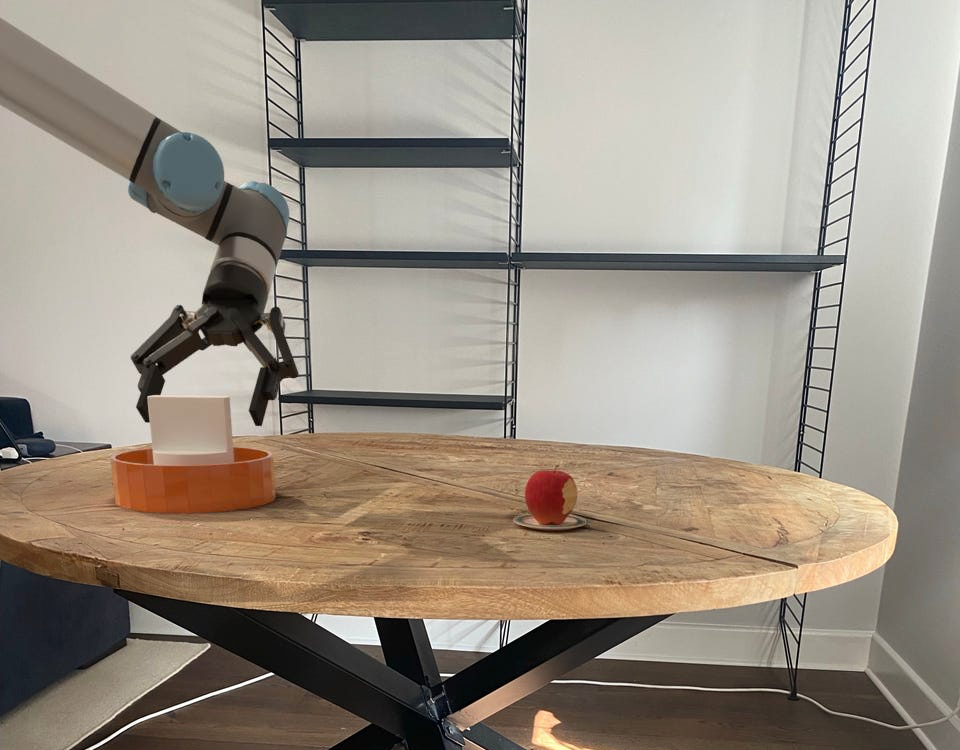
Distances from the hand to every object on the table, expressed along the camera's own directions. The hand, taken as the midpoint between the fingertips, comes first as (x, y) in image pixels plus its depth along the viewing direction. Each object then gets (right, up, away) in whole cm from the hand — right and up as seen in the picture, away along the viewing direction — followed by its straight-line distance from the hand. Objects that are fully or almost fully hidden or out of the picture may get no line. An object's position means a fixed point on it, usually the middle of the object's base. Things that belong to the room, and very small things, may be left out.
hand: (198, 417), depth 106 cm
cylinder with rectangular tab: (-1, -10, +2) cm, 10 cm away
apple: (+40, -13, -5) cm, 43 cm away
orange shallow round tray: (-1, -10, +2) cm, 10 cm away
